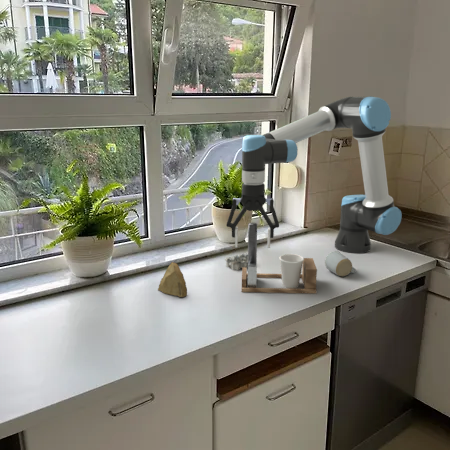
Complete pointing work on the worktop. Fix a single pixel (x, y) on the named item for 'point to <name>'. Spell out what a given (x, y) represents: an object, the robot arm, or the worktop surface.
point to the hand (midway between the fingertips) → (252, 246)
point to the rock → (173, 281)
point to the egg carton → (237, 261)
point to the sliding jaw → (252, 255)
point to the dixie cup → (291, 269)
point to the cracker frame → (307, 277)
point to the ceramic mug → (339, 264)
